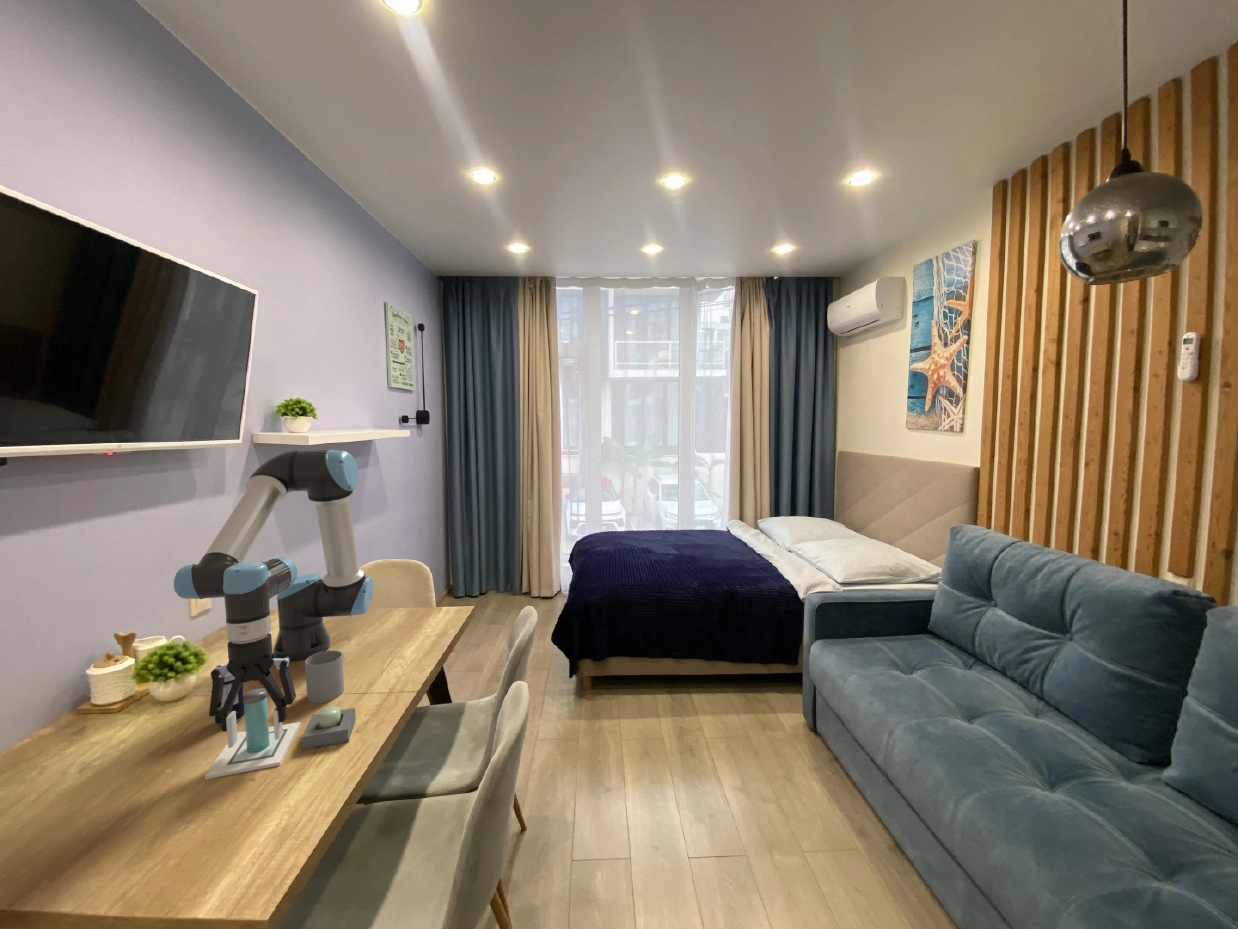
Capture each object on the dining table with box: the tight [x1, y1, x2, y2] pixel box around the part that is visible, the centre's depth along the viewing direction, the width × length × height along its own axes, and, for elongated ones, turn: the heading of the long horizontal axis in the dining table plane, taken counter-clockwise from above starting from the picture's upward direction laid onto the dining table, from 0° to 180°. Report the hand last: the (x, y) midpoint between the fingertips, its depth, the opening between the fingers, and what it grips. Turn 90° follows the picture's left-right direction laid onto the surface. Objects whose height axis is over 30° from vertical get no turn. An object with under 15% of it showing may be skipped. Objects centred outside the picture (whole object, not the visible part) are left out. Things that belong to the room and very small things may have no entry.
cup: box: [304, 650, 345, 704], centre depth 132 cm, size 8×8×10 cm
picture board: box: [204, 721, 302, 780], centre depth 110 cm, size 15×13×1 cm
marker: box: [243, 687, 270, 753], centre depth 109 cm, size 4×4×12 cm
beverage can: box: [212, 671, 245, 726], centre depth 120 cm, size 6×6×12 cm
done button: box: [317, 706, 341, 729], centre depth 115 cm, size 4×4×3 cm
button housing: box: [301, 707, 356, 751], centre depth 115 cm, size 9×9×3 cm
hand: (256, 739), depth 108 cm, fingers open, 8 cm apart
